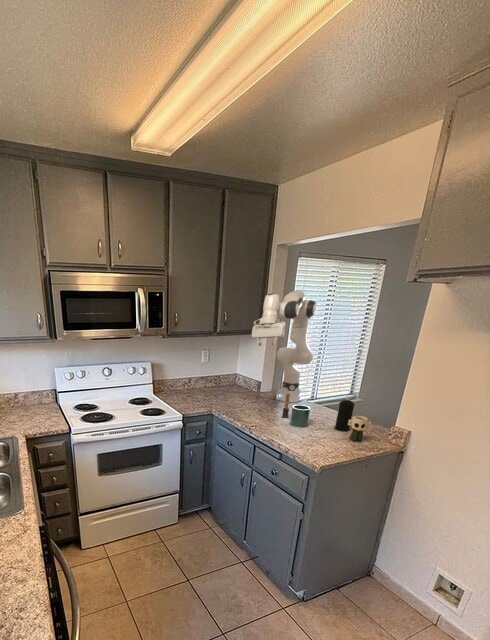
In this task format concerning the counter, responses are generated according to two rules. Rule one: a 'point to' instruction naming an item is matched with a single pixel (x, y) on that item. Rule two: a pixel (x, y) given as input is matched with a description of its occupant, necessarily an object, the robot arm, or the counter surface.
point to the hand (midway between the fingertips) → (266, 345)
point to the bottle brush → (286, 407)
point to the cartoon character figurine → (358, 427)
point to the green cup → (300, 415)
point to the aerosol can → (344, 414)
